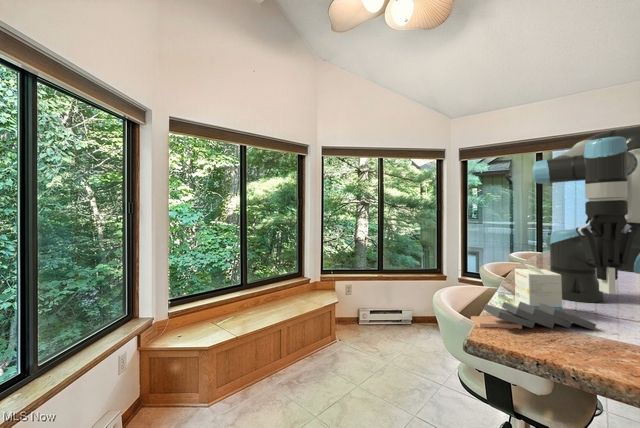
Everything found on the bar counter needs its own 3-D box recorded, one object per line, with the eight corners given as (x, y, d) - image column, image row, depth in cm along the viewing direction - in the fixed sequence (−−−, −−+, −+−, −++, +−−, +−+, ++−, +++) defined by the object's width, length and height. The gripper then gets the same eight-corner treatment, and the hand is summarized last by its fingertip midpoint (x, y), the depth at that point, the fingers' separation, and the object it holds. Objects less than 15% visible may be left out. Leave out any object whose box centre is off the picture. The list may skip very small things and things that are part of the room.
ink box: (563, 317, 76) (563, 268, 76) (529, 315, 78) (528, 267, 78) (545, 306, 85) (544, 263, 85) (514, 305, 86) (513, 262, 86)
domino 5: (579, 316, 72) (540, 302, 73) (596, 324, 67) (555, 309, 68) (576, 322, 72) (538, 308, 73) (594, 330, 67) (552, 315, 68)
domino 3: (538, 314, 73) (503, 301, 73) (554, 322, 68) (517, 308, 68) (536, 320, 74) (501, 307, 73) (552, 328, 69) (515, 314, 68)
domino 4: (554, 314, 74) (520, 301, 73) (571, 322, 69) (534, 308, 68) (552, 320, 74) (517, 306, 73) (569, 328, 69) (532, 314, 68)
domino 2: (518, 313, 73) (485, 303, 72) (535, 322, 68) (499, 311, 67) (516, 319, 73) (483, 309, 72) (532, 328, 68) (497, 318, 67)
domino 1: (510, 317, 74) (470, 316, 75) (522, 324, 69) (479, 323, 70) (510, 323, 74) (470, 322, 75) (522, 330, 69) (480, 329, 70)
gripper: (619, 199, 73) (620, 287, 74) (566, 201, 75) (567, 288, 75) (650, 198, 66) (651, 296, 66) (590, 200, 67) (592, 296, 68)
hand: (607, 292), depth 71 cm, fingers closed
